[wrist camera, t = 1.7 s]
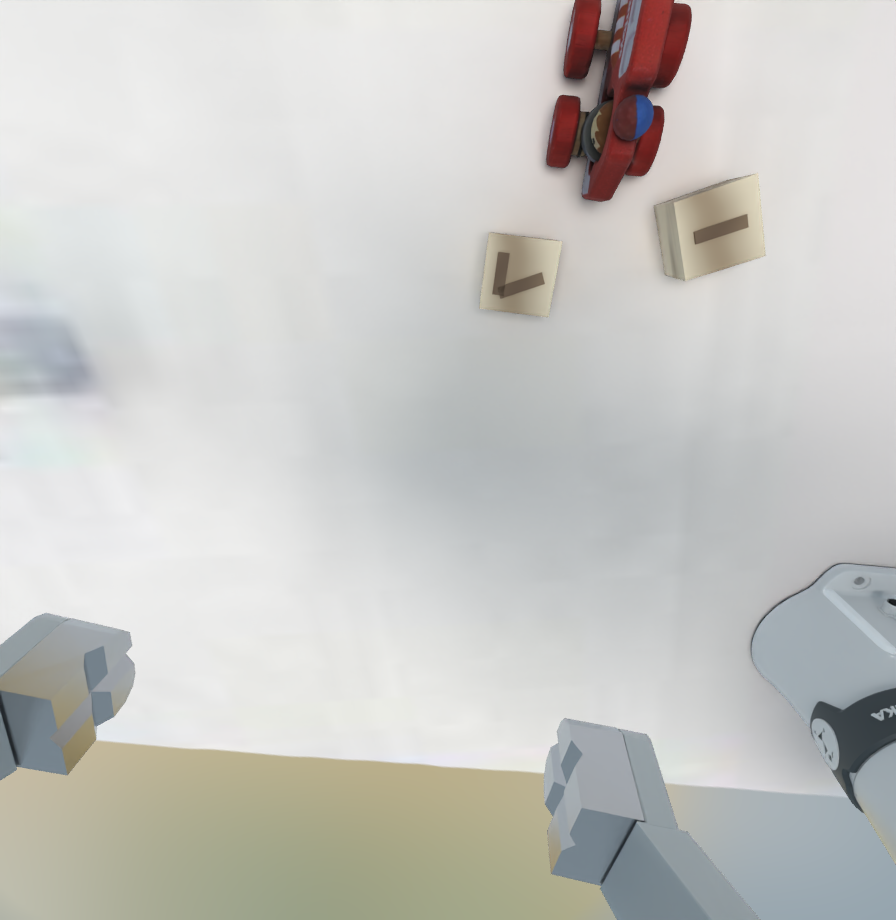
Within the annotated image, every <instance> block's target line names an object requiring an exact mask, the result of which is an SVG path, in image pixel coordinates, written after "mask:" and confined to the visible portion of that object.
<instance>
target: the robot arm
mask: <svg viewBox="0 0 896 920" xmlns="http://www.w3.org/2000/svg"><path fill="white" fill-rule="evenodd" d="M858 577H859V578H858ZM856 578H858V579H856ZM855 579H856V580H855ZM131 647H132V642H131V636H130V632H127V631H124V630H120V629H116V628H112V627H107V626H103V625H99V624H94V623H90V622H85V621H81V620H77V619H72V618H67V617H62V616H58V615H53V614H49V613H44V614H42V615H39V616H37V617H34V618H33V619H32V620H30V621H29V622H28V623H27V624H26V625H24V626H23V627H22V628H21V629H19V630H18V631H17V632H16V633H15V634H13V635H12V636H11V637H10V638H9V639H7V640H6V641H5V642H4V643H2V644H1V645H0V780H2V779H3V778H5V777H6V776H8V775H10V774H11V773H13V772H14V771H16V770H17V768H16V767H22V768H28V769H34V770H39V771H45V772H51V773H57V774H63V775H68V774H69V773H70V771H71V770H72V769H73V768H74V767H75V765H76V764H77V763H78V762H79V760H80V759H81V758H82V757H83V755H84V754H85V752H87V750H88V749H89V748H90V747H91V745H92V744H93V743H94V742H95V740H96V733H97V726H98V725H100V724H102V723H104V722H105V721H107V720H109V719H111V718H113V717H114V716H115V715H116V714H117V712H118V711H119V710H120V708H121V707H122V706H123V704H124V703H125V702H126V699H127V697H128V695H129V693H130V691H131V689H132V687H133V683H134V677H135V666H134V663H133V661H132V660H131V659H130V658H129V657H128V656H127V654H126V652H127V651H128V650H129V649H130V648H131ZM752 658H753V662H754V664H755V666H756V668H757V670H758V671H759V672H760V674H761V675H762V676H763V677H764V678H765V679H766V680H767V681H769V682H770V683H771V684H772V685H773V686H774V687H775V688H776V689H777V690H778V691H779V692H780V693H781V694H782V695H783V696H784V697H785V699H786V700H787V701H788V702H789V703H790V704H791V706H792V707H793V708H794V709H795V711H796V712H797V713H798V714H799V716H800V717H801V718H802V719H803V721H804V722H805V723H806V725H807V726H808V727H809V729H810V730H811V734H812V736H813V738H814V740H815V742H816V744H817V747H818V749H819V751H820V753H821V754H822V756H823V758H824V760H825V761H826V763H827V764H828V766H829V767H830V769H831V770H832V772H833V774H834V775H835V777H836V779H837V780H838V782H839V783H840V785H841V786H842V788H843V790H844V791H845V793H846V794H847V796H848V797H849V799H850V800H851V802H852V803H853V804H854V805H855V807H856V808H858V809H859V810H860V811H861V812H863V813H864V814H865V815H866V817H867V818H868V820H869V821H870V823H871V825H872V826H873V828H874V830H875V831H876V833H877V835H878V836H879V838H880V839H881V841H882V843H883V844H884V846H885V848H886V849H887V851H888V853H889V854H890V856H891V858H892V859H893V861H894V862H895V864H896V568H887V567H876V566H865V565H855V564H839V565H836V566H834V567H832V568H831V569H830V570H828V571H827V572H826V573H825V574H824V575H823V576H822V577H821V578H820V579H819V580H818V581H817V582H816V583H815V584H814V585H813V586H811V587H810V588H808V589H806V590H805V591H803V592H801V593H799V594H797V595H795V596H793V597H791V598H789V599H787V600H786V601H784V602H783V603H781V604H780V605H778V606H777V607H776V608H775V609H773V610H772V611H771V612H770V613H769V614H768V615H767V616H766V617H765V618H764V620H763V621H762V622H761V624H760V625H759V627H758V629H757V630H756V633H755V635H754V638H753V641H752ZM557 736H558V744H556V745H554V746H552V747H551V748H550V751H549V754H548V757H547V760H546V766H545V772H544V798H545V805H546V807H547V808H548V810H549V811H550V813H551V814H552V816H553V818H552V821H551V823H550V825H549V828H548V830H547V835H548V846H549V856H550V868H551V874H554V875H557V876H562V877H566V878H570V879H574V880H579V881H583V882H587V883H591V884H596V885H600V886H601V888H600V889H601V891H602V893H603V894H604V897H605V898H606V900H607V902H608V904H609V906H610V908H611V909H612V911H613V913H614V915H615V917H616V919H617V920H760V919H759V917H758V916H757V915H756V914H755V913H754V911H753V910H752V909H751V908H750V906H748V904H747V903H746V902H745V900H744V899H743V898H742V897H741V896H740V894H739V893H738V892H737V891H736V890H735V888H734V887H733V886H732V885H731V884H730V882H729V881H728V880H727V879H726V878H725V876H724V875H723V874H722V873H721V872H720V870H719V869H718V868H717V867H716V865H715V864H714V863H713V862H712V861H711V859H710V858H709V857H708V856H707V855H706V853H705V852H704V851H703V850H702V848H701V847H700V846H699V845H698V844H697V842H696V841H695V840H694V839H693V838H692V836H691V835H690V834H689V833H688V832H687V831H683V830H679V829H678V826H677V823H676V819H675V816H674V813H673V810H672V806H671V803H670V800H669V797H668V794H667V790H666V787H665V784H664V781H663V778H662V774H661V771H660V768H659V765H658V761H657V758H656V755H655V752H654V749H653V745H652V742H651V740H650V738H649V737H648V736H647V734H643V733H638V732H633V731H628V730H623V729H617V728H615V727H610V726H604V725H599V724H594V723H588V722H583V721H578V720H572V719H567V718H564V719H563V720H562V721H561V723H560V725H559V728H558V730H557Z"/></svg>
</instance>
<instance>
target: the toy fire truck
mask: <svg viewBox="0 0 896 920" xmlns="http://www.w3.org/2000/svg"><path fill="white" fill-rule="evenodd" d="M600 14H601V0H575V3H574V7H573V12H572V17H571V22H570V28H569V34H568V39H567V46H566V53H565V60H564V75H565V77H567V78H576V79H583V78H585V77H586V76H587V74H588V71H589V67H590V64H591V61H592V56H593V52H594V49H598V50H607V58H606V63H605V68H604V74H603V79H602V85H601V90H600V95H599V101H598V106H597V107H596V108H594V109H593V110H592V111H591V112H581V111H580V103H581V102H580V98H579V97H576V96H568V95H561V96H559V98H558V99H557V102H556V106H555V110H554V115H553V120H552V125H551V130H550V136H549V143H548V149H547V158H546V163H547V165H549V166H551V167H560V168H565V167H566V166H568V164H569V162H570V159H571V155H574V156H577V157H580V156H585V155H586V156H587V157H588V160H587V165H586V171H585V176H584V181H583V187H582V197H583V198H584V199H588V200H594V201H600V202H602V201H607V200H610V199H611V198H612V196H613V194H614V193H615V191H616V189H617V187H618V185H619V183H620V181H621V179H622V178H623V176H624V174H626V175H631V176H643V175H645V174H646V173H647V172H648V171H649V169H650V167H651V165H652V163H653V161H654V159H655V156H656V154H657V151H658V147H659V144H660V141H661V136H662V132H663V126H664V110H663V109H662V107H660V106H653V105H652V103H651V101H650V100H649V99H648V98H647V96H648V93H649V90H650V89H651V87H657V88H665V87H667V86H668V85H669V84H670V83H671V82H672V80H673V79H674V77H675V75H676V73H677V71H678V69H679V66H680V64H681V61H682V58H683V55H684V52H685V49H686V45H687V41H688V37H689V32H690V27H691V19H692V14H691V8H690V6H689V5H687V4H680V3H674V0H617V5H616V9H615V14H614V20H613V26H612V29H611V31H604V30H598V26H599V19H600Z"/></svg>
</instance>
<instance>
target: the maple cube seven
mask: <svg viewBox="0 0 896 920" xmlns="http://www.w3.org/2000/svg"><path fill="white" fill-rule="evenodd" d="M561 248H562V241H557V240H549V239H541V238H533V237H524V236H516V235H508V234H499V233H489V236H488V243H487V251H486V259H485V266H484V274H483V282H482V290H481V297H480V305H479V308H480V309H487V310H495V311H503V312H511V313H518V314H526V315H534V316H542V317H549V312H550V306H551V301H552V296H553V290H554V285H555V280H556V274H557V269H558V264H559V258H560V253H561Z"/></svg>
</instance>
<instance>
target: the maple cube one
mask: <svg viewBox="0 0 896 920" xmlns="http://www.w3.org/2000/svg"><path fill="white" fill-rule="evenodd" d="M654 210H655V216H656V222H657V228H658V234H659V241H660V247H661V253H662V259H663V265H664V271H665V275H666V276H670V277H673V278H677V279H680V280H683V281H687V280H691V279H694V278H697V277H700V276H703V275H706V274H710V273H713V272H716V271H719V270H722V269H726V268H729V267H732V266H735V265H738V264H741V263H745V262H748V261H751V260H754V259H757V258H761V257H764V256H766V255H765V244H764V233H763V222H762V211H761V200H760V189H759V178H758V173H757V174H753V175H748V176H744V177H739V178H735V179H730V180H726V181H723V182H721V183H718V184H715V185H712V186H709V187H706V188H704V189H701V190H698V191H695V192H692V193H689V194H686V195H684V196H681V197H678V198H675V199H672V200H669V201H666V202H664V203H661V204H658V205H655V206H654Z"/></svg>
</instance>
